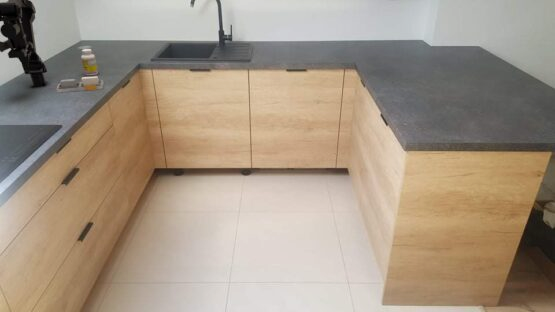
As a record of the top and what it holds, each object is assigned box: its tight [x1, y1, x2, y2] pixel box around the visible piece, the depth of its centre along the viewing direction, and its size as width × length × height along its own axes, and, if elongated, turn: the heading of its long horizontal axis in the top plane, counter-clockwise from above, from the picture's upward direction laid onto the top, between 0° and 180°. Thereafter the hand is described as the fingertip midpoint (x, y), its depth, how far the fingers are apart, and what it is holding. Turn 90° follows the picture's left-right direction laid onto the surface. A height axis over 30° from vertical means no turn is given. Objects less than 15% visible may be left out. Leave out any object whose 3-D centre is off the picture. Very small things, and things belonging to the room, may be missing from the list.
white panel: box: [81, 75, 100, 86], centre depth 196 cm, size 2×7×5 cm, turn 108°
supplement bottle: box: [80, 48, 99, 77], centre depth 213 cm, size 7×7×13 cm
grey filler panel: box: [60, 78, 77, 87], centre depth 194 cm, size 2×6×4 cm, turn 108°
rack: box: [56, 79, 104, 94], centre depth 195 cm, size 8×20×2 cm, turn 108°
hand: (26, 68), depth 182 cm, fingers closed
